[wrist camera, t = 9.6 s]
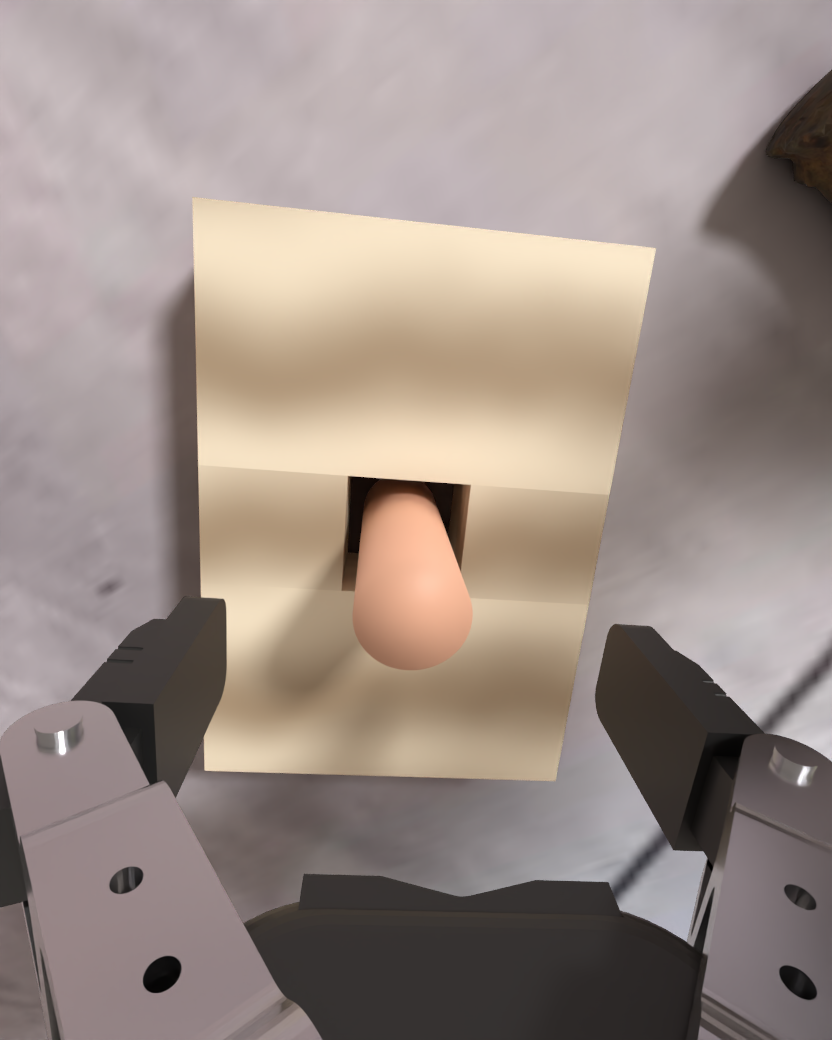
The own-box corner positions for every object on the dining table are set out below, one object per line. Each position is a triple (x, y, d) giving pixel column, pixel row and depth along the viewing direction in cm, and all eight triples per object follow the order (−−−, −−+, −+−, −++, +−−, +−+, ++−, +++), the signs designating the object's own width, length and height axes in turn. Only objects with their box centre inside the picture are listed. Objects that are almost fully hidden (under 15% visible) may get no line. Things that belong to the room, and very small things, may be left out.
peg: (365, 471, 23) (356, 557, 14) (438, 476, 23) (479, 564, 14) (361, 541, 24) (349, 667, 14) (432, 545, 24) (465, 672, 15)
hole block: (227, 225, 20) (192, 197, 16) (607, 266, 21) (656, 248, 18) (230, 708, 26) (204, 770, 22) (530, 720, 27) (555, 781, 23)
